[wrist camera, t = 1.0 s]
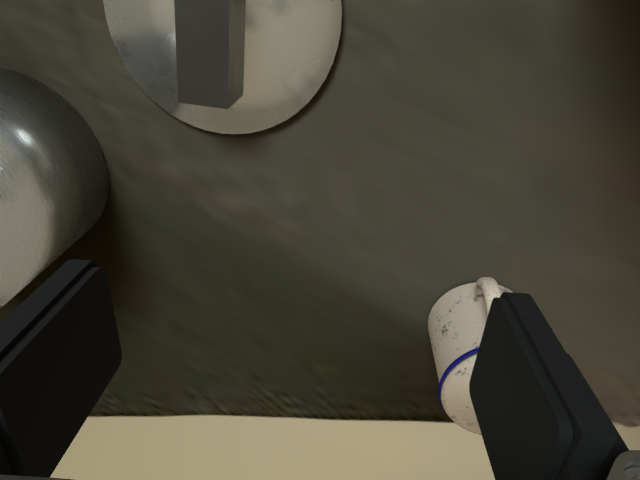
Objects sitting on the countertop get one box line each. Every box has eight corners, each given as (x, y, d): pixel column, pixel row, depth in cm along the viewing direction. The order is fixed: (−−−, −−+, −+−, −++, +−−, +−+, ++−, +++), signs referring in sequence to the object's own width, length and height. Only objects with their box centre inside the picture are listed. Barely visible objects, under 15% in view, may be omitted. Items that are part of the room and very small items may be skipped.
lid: (97, -149, 28) (41, -179, 23) (359, -116, 28) (359, -138, 23) (122, 115, 35) (85, 135, 31) (327, 142, 35) (322, 167, 30)
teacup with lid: (525, 353, 43) (576, 465, 33) (427, 360, 45) (447, 470, 34) (532, 243, 38) (596, 337, 27) (419, 254, 39) (441, 348, 29)
